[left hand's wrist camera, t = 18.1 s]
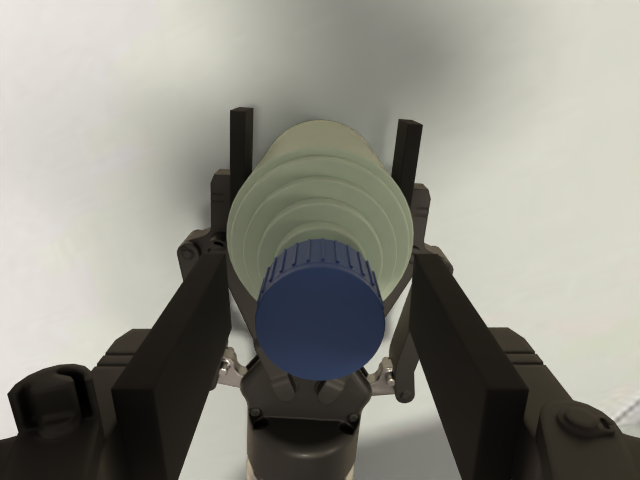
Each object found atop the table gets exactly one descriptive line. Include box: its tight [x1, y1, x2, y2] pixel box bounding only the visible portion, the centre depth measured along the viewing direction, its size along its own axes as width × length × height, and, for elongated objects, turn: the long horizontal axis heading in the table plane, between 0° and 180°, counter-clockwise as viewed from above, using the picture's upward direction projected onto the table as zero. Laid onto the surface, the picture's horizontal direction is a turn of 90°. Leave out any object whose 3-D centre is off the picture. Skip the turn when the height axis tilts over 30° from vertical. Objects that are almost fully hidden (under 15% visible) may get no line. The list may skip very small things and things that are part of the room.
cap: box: [255, 238, 385, 380], centre depth 14 cm, size 4×4×2 cm
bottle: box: [227, 120, 414, 301], centre depth 22 cm, size 8×8×19 cm
